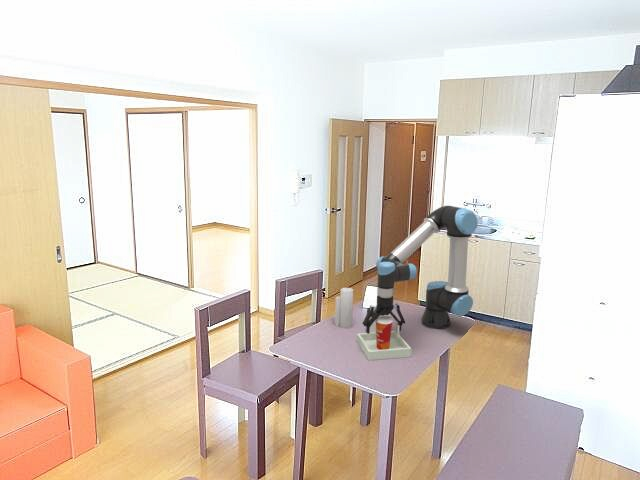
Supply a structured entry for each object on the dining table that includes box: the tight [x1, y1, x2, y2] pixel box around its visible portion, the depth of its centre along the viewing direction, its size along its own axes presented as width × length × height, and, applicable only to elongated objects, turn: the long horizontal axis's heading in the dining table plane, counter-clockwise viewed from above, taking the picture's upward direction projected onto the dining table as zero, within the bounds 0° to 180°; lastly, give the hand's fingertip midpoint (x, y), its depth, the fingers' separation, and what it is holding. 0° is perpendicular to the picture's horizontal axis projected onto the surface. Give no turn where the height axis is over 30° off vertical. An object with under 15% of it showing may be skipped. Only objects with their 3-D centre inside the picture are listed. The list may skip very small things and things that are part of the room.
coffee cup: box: [375, 315, 394, 350], centre depth 222 cm, size 8×8×15 cm
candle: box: [334, 287, 354, 329], centre depth 249 cm, size 11×7×20 cm, turn 48°
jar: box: [365, 307, 381, 333], centre depth 241 cm, size 9×8×12 cm
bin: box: [356, 330, 412, 361], centre depth 223 cm, size 20×20×4 cm
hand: (383, 338), depth 222 cm, fingers open, 13 cm apart
